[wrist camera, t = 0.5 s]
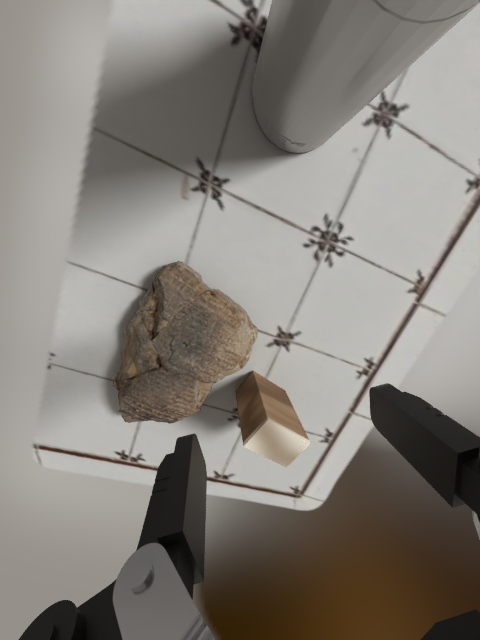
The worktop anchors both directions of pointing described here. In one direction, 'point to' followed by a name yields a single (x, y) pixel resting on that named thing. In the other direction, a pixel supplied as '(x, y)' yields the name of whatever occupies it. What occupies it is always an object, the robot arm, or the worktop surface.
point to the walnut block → (269, 420)
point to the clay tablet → (180, 347)
